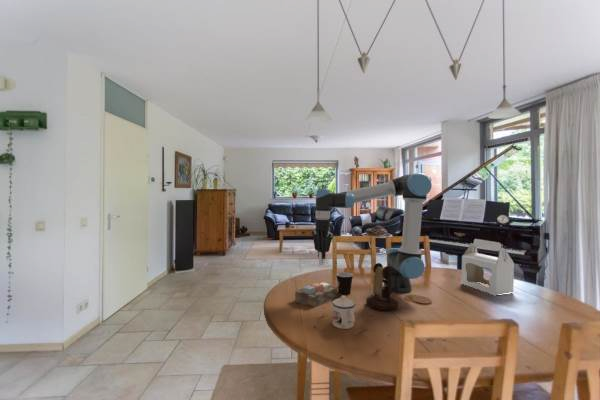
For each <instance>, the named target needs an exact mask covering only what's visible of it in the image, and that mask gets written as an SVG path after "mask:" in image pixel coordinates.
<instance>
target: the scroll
mask: <svg viewBox="0 0 600 400" xmlns="http://www.w3.org/2000/svg"><path fill="white" fill-rule="evenodd" d="M372 268H373V269H372V270H373V273H374V276H373V283H372V284H373V287H372V291H373V294H374V295H370V296H367V298H366V299H365V301H366V304H367V305H368V306H370V307H373V308H375V309H379V312H382V310H393V309H398V308H399V301H398V300H396V298H393V296H392V293H393V291H392V289H391V287H390V286H391V285H392V282H391V275H392V269H391V267H389V266H387V265H386V266H385V267H384V266H383V264H382V263H381V262H377V263H375V264H374V265H373V267H372ZM385 279H386V280H385ZM387 279H388V281H387ZM384 282H385V283H386V284H387V285H388V286H385V287H384Z"/></svg>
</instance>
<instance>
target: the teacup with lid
mask: <svg viewBox="0 0 600 400" xmlns="http://www.w3.org/2000/svg"><path fill="white" fill-rule="evenodd" d="M331 304H332V325H333V326H334V327H336V328H337V329H340V330H341V329H342V330H348V329H351V328H353V327H354V325H355V321H356V319H355V318H356V316H355V306H356V304H355V302H354V301H353V300H352V299H349V298H347V295H341V296H340V297H339V298H335V299H333V300H332V303H331Z"/></svg>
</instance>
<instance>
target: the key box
mask: <svg viewBox="0 0 600 400" xmlns="http://www.w3.org/2000/svg"><path fill="white" fill-rule="evenodd" d="M318 283H319V284H320V283H321V282H318ZM335 299H338V287H336V286H331V285H330V287H329V288H326V289H323V290H321V291H318V292H317V291H315V293H313V294H310V295H309V294H306V293H303V288H300V289H298V290H295V291H294V301H295V302H296V303H299V304H302V305H305V306H308V307H310V308H313V309H314V308H316V307H319V306H322V305H323V304H325V303H328V302H330V301H334V300H335Z"/></svg>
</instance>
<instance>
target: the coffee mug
mask: <svg viewBox="0 0 600 400" xmlns="http://www.w3.org/2000/svg"><path fill="white" fill-rule="evenodd" d="M353 276H354V275H353V273H350V272H338V273H336V283H337V288H338V289H337V294H339V295H341V296H343V295H344V296H350V295H351V291H352V283H353Z"/></svg>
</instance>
